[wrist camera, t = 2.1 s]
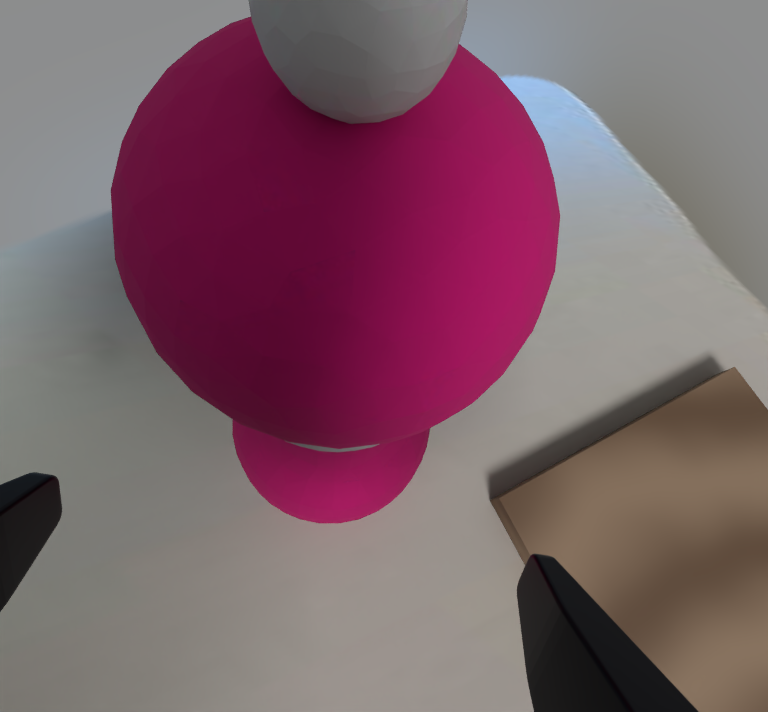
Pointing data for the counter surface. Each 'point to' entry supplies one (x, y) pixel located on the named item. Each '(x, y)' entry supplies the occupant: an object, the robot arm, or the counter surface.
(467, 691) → the counter surface
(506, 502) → the walnut board
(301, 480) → the pepper mill
